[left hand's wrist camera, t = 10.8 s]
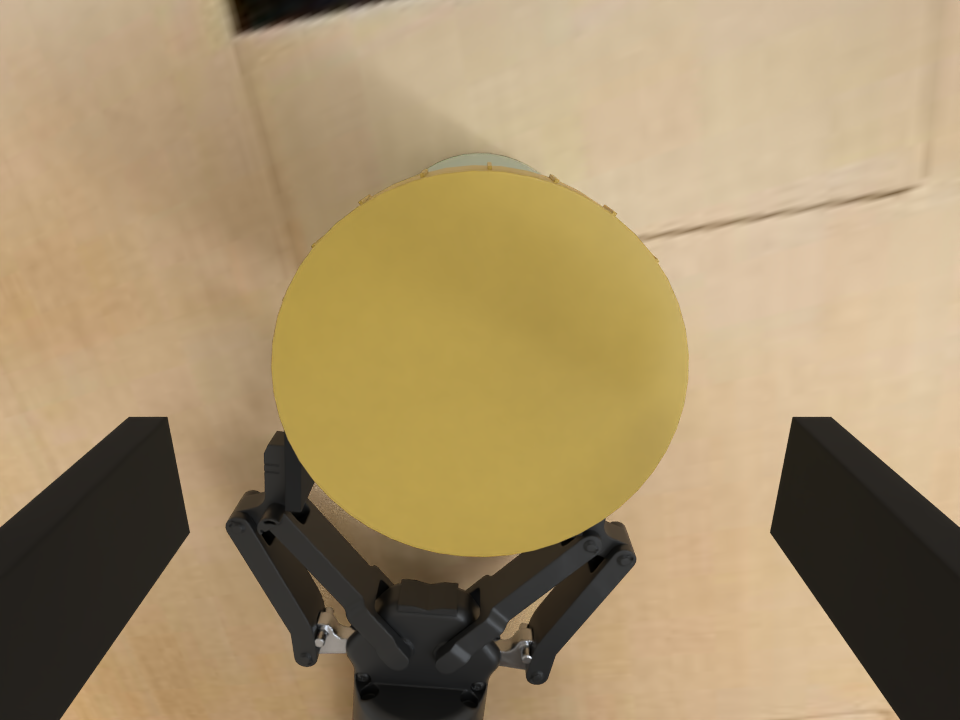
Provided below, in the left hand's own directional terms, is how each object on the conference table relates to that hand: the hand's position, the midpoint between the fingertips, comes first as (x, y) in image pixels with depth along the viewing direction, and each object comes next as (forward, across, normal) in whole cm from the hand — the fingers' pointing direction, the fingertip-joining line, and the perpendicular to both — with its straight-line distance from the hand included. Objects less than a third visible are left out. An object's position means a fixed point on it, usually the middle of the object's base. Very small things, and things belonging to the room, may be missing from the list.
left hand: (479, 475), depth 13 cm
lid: (+5, 0, 0) cm, 5 cm away
